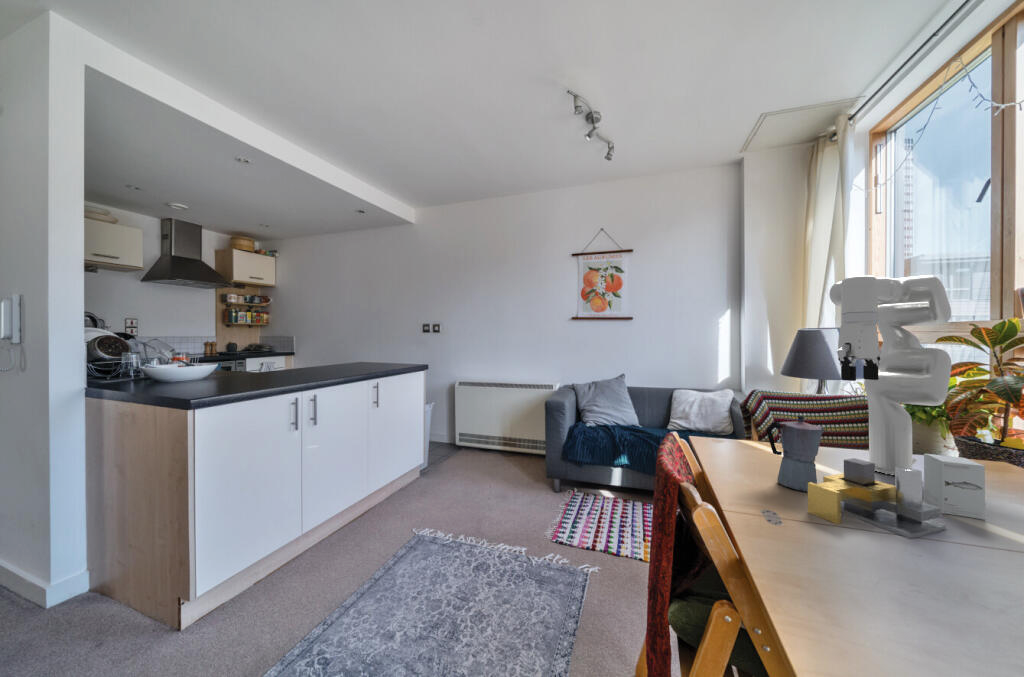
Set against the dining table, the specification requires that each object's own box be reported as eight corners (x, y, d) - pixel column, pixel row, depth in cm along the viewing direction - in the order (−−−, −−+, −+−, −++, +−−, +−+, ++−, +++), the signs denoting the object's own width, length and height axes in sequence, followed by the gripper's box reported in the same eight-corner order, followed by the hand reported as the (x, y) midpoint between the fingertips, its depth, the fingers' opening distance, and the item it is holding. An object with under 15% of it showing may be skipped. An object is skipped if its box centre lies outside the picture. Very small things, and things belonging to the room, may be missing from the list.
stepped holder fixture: (855, 498, 94) (854, 452, 94) (946, 528, 78) (945, 473, 78) (800, 509, 87) (799, 459, 87) (887, 544, 72) (886, 484, 72)
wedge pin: (854, 502, 89) (854, 458, 89) (875, 509, 85) (874, 463, 86) (844, 504, 88) (843, 459, 88) (864, 511, 84) (863, 464, 84)
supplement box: (940, 513, 85) (939, 460, 86) (923, 501, 92) (922, 452, 92) (987, 521, 82) (986, 465, 82) (965, 508, 88) (964, 456, 89)
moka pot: (839, 494, 96) (838, 419, 97) (780, 493, 97) (780, 418, 97) (810, 480, 106) (809, 412, 106) (757, 479, 106) (757, 412, 107)
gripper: (862, 321, 108) (863, 378, 108) (823, 319, 103) (824, 379, 102) (895, 319, 101) (896, 380, 101) (855, 317, 96) (856, 382, 95)
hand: (859, 380), depth 101 cm, fingers open, 9 cm apart
